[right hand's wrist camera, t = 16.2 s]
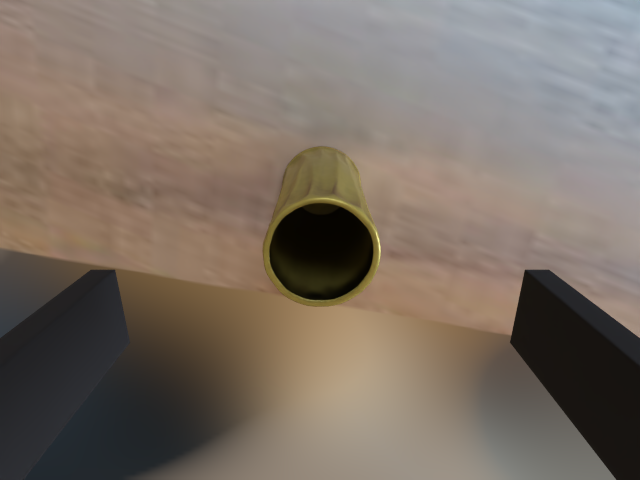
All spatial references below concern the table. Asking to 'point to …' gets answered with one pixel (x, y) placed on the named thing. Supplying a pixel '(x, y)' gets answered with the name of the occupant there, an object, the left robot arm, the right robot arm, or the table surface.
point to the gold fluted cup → (321, 231)
